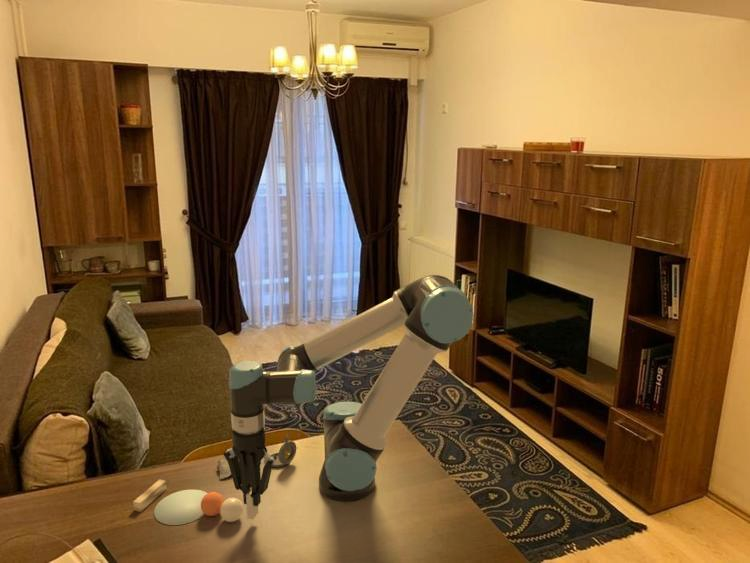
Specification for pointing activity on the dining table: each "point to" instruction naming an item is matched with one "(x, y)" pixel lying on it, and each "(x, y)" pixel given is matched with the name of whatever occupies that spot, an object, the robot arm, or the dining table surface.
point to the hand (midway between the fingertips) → (252, 515)
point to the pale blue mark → (180, 507)
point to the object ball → (211, 503)
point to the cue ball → (231, 509)
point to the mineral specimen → (223, 468)
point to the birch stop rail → (149, 495)
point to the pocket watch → (285, 453)
